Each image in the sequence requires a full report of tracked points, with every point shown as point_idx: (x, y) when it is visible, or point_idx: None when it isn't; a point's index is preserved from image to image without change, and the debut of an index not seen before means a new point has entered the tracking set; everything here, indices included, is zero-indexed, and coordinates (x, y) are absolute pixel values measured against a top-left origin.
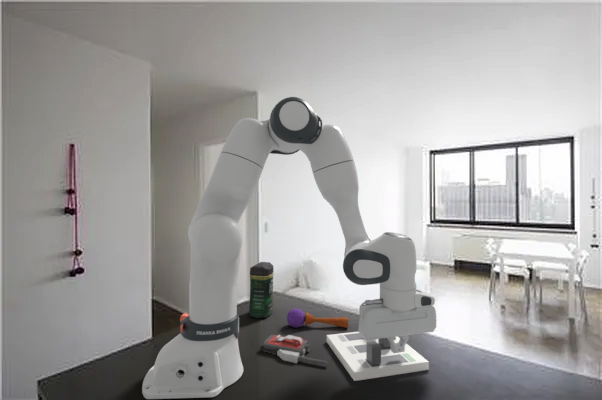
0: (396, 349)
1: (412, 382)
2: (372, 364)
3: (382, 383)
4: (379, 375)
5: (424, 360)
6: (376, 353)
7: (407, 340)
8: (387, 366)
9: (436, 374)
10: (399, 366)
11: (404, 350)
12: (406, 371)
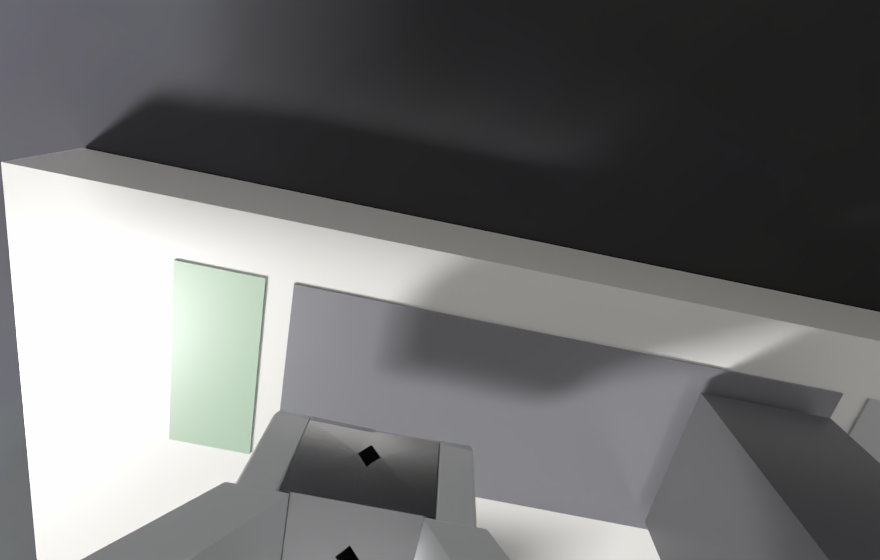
0: (430, 475)
1: (467, 25)
2: (825, 420)
3: (805, 175)
4: (746, 288)
5: (46, 216)
6: (874, 521)
7: (106, 553)
8: (645, 322)
9: (51, 24)
10: (488, 259)
11: (275, 418)
12: (389, 215)
